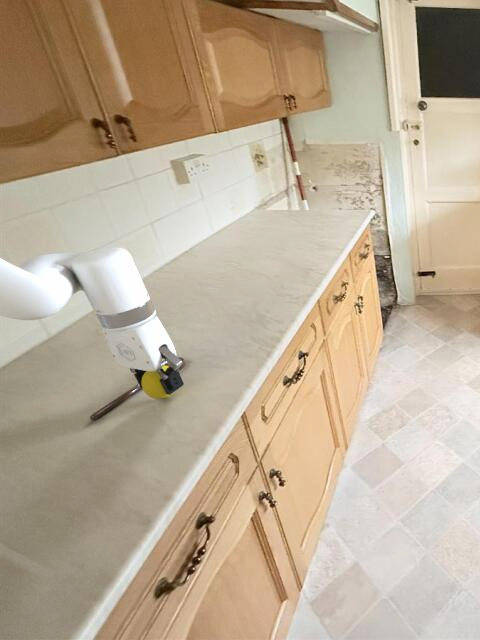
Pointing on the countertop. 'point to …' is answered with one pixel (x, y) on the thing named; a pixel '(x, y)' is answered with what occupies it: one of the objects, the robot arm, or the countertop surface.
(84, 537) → the countertop surface
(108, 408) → the spoon
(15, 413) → the countertop surface
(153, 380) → the lemon
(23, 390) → the countertop surface
